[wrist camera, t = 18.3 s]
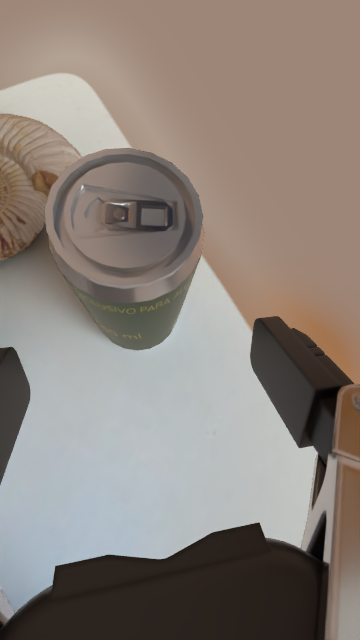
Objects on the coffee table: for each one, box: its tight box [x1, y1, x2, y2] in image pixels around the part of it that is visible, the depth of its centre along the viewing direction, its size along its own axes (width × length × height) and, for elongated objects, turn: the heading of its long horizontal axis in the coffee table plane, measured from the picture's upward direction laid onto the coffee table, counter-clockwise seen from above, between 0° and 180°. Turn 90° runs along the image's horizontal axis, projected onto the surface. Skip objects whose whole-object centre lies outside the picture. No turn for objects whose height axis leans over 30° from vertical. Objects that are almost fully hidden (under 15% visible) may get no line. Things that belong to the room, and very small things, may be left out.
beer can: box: [45, 148, 204, 350], centre depth 15 cm, size 5×5×12 cm
